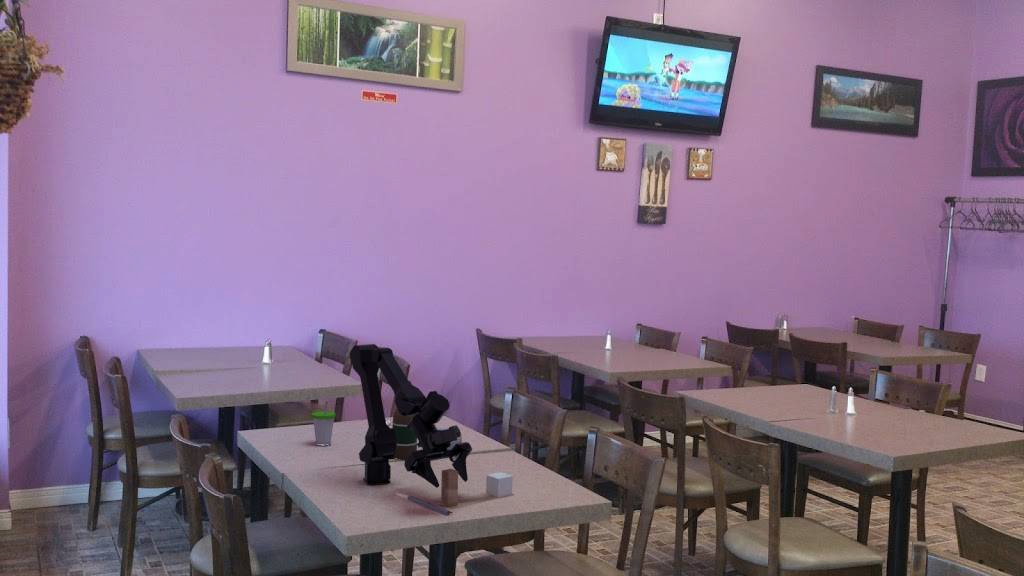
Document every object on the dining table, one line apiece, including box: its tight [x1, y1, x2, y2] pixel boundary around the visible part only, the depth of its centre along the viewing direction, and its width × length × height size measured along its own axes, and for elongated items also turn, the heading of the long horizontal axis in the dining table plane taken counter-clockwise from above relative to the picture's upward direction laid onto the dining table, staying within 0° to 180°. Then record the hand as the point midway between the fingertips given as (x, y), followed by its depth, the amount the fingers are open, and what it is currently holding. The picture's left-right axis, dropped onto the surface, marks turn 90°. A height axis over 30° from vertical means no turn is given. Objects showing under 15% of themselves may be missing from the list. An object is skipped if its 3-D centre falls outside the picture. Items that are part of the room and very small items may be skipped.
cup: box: [311, 401, 337, 445], centre depth 313 cm, size 8×8×15 cm
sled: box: [436, 468, 515, 514], centre depth 252 cm, size 6×22×10 cm, turn 132°
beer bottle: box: [392, 380, 418, 461], centre depth 299 cm, size 8×8×24 cm
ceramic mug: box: [436, 427, 463, 450], centre depth 311 cm, size 11×8×8 cm
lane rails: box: [406, 495, 451, 516], centre depth 256 cm, size 17×25×1 cm
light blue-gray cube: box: [485, 471, 514, 498], centre depth 258 cm, size 5×5×5 cm
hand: (452, 483), depth 245 cm, fingers open, 9 cm apart
